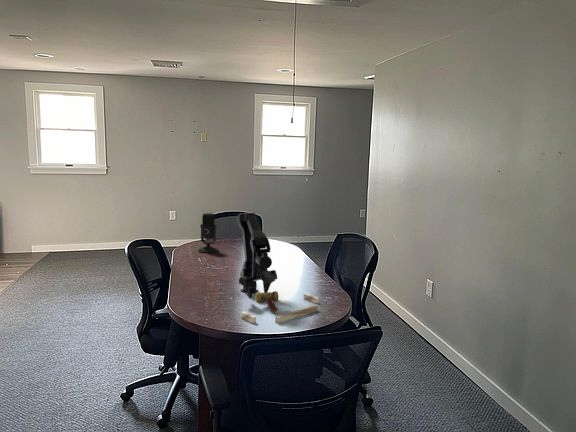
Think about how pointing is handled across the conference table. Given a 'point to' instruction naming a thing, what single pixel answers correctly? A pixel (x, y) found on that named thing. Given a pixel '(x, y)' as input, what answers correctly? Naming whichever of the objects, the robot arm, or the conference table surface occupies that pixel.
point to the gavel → (268, 299)
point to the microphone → (208, 233)
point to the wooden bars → (289, 315)
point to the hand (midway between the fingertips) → (257, 296)
